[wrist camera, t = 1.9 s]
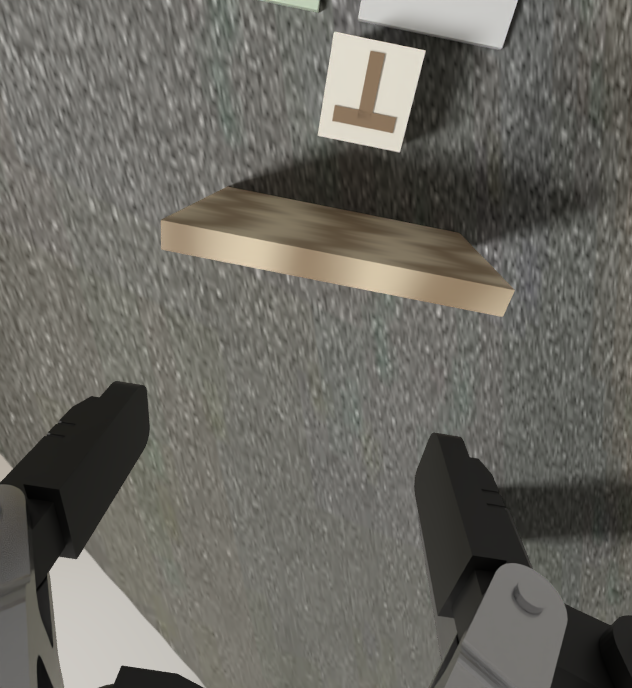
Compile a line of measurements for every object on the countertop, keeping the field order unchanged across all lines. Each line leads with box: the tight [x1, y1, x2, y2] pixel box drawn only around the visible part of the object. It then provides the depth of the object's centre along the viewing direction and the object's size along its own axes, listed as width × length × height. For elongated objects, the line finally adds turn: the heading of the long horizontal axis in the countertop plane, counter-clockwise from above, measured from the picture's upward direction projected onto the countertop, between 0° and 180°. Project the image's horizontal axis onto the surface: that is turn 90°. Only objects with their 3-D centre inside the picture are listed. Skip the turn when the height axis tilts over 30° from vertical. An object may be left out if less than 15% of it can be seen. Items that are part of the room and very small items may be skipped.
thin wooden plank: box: [161, 187, 515, 317], centre depth 25 cm, size 18×2×12 cm, turn 80°
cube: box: [318, 32, 425, 152], centre depth 25 cm, size 5×5×5 cm
